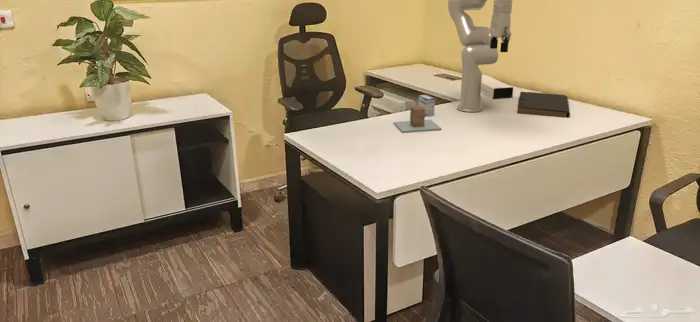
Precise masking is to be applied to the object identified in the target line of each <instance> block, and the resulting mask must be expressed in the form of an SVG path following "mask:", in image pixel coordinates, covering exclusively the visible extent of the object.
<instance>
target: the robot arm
mask: <svg viewBox="0 0 700 322" xmlns="http://www.w3.org/2000/svg"><path fill="white" fill-rule="evenodd" d="M487 1H488V0H448V1H447V8H448V13H449V15H450V18H451V20H452V21H453V23H454V26H455V28H456V31H457V36H458V39H459V41H460V44H461V46H463V49H462V50H461V64H462V65H461V66H462V68H461V70H462V71H461V88H460V90H461V91H460V99H459V100H460V102H459V104H457V105H456V109H457V110H458V111H461V112H464V113H465V112H466V113H477V112H481V111H483V106H482V105H481V104H480V103H481V94H482V93H481V82H482V75H483V74H482V71H481V69H480V68H479V66H484V65H485V66H487V65H493V64H495V63H497V61H498V59H499V53H508V51H509V43H510V39H511V36H512V32H511V20H512V19H511V14H512V9H513V8H512V6H513V0H493V9H492V15H491V19H490V20H491V21H490V27H488V26H476V25H475V24H474V21H473V19H472V16H470V15H469V14H468V13H467V12H466V11H479V10H481V9H483V8H484V6H485V5H486V4H487ZM498 38H500V40H501V42H500V50H498V43H499V39H498ZM499 51H500V52H499Z"/></svg>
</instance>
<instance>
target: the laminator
mask: <svg viewBox="0 0 700 322" xmlns="http://www.w3.org/2000/svg"><path fill="white" fill-rule="evenodd" d="M481 94H483V95H485V96H487V97H488V98H490V99H492V100H495V99H510V98H513V95H514V87H513V86H511V85H509V84H507V83H505V82H502V81H500V80H498V79H496V78H494V77H491V76H489V75H487V74H482V82H481Z"/></svg>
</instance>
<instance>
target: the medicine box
mask: <svg viewBox="0 0 700 322" xmlns="http://www.w3.org/2000/svg"><path fill="white" fill-rule="evenodd" d="M417 105H418V106H422V107H423V108H424V109H425V117H432V116H435V108H436V107H435V106H436V98H435V97H432V96H430V95H427V94H421V95H418V102H417Z"/></svg>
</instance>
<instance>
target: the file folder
mask: <svg viewBox="0 0 700 322" xmlns="http://www.w3.org/2000/svg"><path fill="white" fill-rule="evenodd" d="M518 97H519V98H518V101H517V110H516V114H521V115H531V116H545V117H546V116H547V117H559V118H570V115H571V114H570V106H569V98H568V96H567V95H565V94H558V93H557V94H556V93H543V92H536V91H535V92H532V91H520V93H519V96H518Z"/></svg>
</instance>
